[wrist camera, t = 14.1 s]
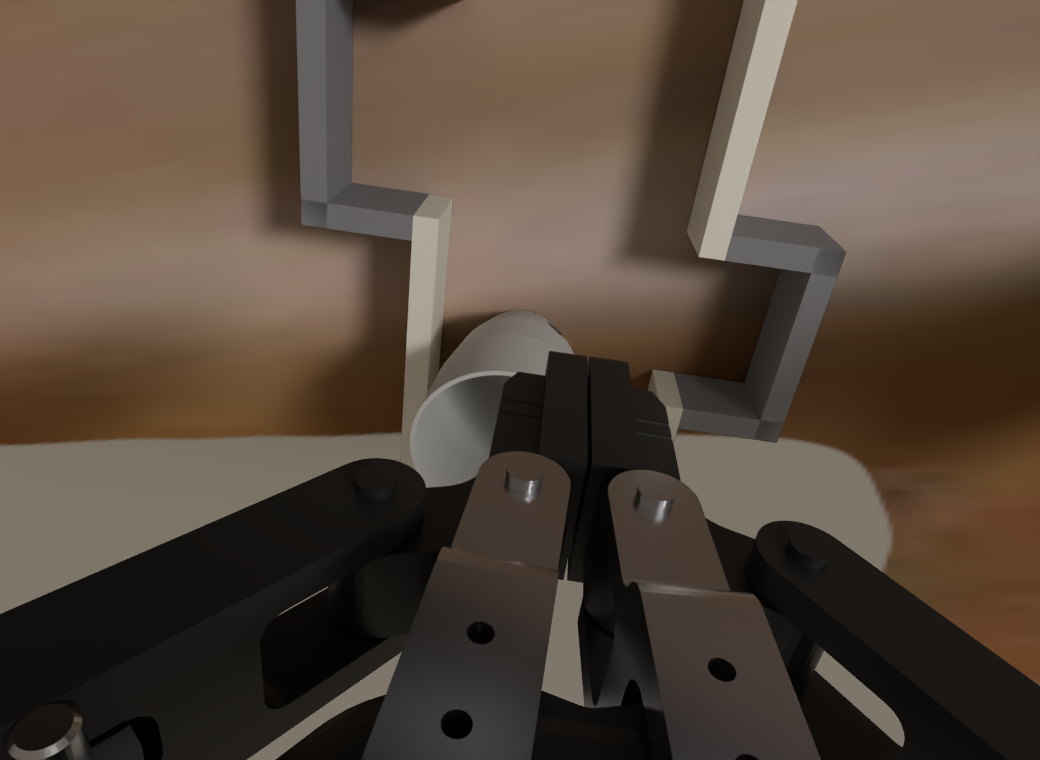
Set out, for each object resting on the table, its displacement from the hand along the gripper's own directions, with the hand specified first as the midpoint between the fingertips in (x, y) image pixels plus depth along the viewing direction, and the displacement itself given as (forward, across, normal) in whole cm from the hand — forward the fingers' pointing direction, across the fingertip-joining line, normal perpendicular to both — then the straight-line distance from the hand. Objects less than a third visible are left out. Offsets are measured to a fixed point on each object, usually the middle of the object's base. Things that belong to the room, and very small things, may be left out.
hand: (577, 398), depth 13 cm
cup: (+24, +2, +11) cm, 26 cm away
